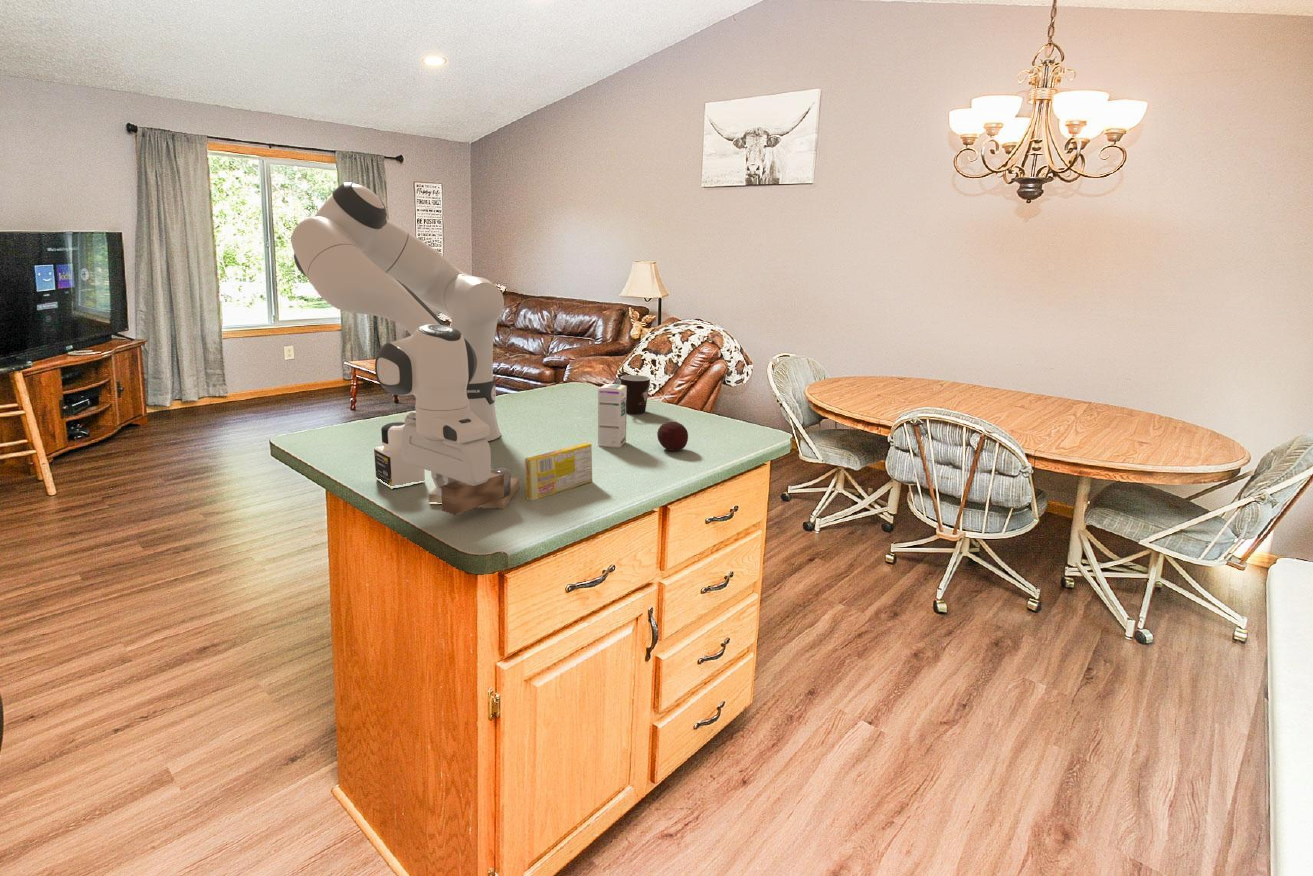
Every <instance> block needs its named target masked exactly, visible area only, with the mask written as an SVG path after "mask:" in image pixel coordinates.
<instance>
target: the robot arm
mask: <svg viewBox="0 0 1313 876" xmlns="http://www.w3.org/2000/svg"><path fill="white" fill-rule="evenodd" d="M387 215H388V213H387V209H386V206H385V204H384V202H383V201H382V200H381V198H380V197H379V196H378V195H377V194H375V192H374V191H373V190H371V189H369V188H368V187H367V186H365V185H362V184H360V183H357V182H353V181H352V182H347V181H346V182H343V183H342V184H340V185H339V186H338V187H336V188H335V189H334V190H333V192H332V195H331V196H330V197H329V198H328V199H327V200H326V202H324V204H323V205H321V207H320V208H319V210H318V211H317V212H316V214H315V215H314V216H311V217H308V218H306V219H304V220H302V221H300V222H299V223H298V224H297V225H296V226H295V227H294V229H293V231H292V233H291V237H290V238H291V241H290V242H291V247H292V250H293V258H294V259H293V260H294V263H295V266H296V269H298V271H299V272H300V273H301V274H302V275H303V276H304V277H306V278H307V279H308V281H309V283H310V284H311V285H312V286H313V288H314V289H315V291H316V292H317V294H318V295H319V296H320V297H321V298H322V299H323V300H325V302H327V303H328V304H329V305H330V306H332V307H333V308H336V309H338V310H340V311H342V312H347V313H353V314H362V315H367V316H368V315H369V316H375V317H381V318H383V319H388V320H390V321H393V322H395V323H397V324H399V326H402V328H404V329H405V331H406V332H408V334H410V335H409V336H406V337H405V338H401V339H398V340H394V341H390V342H387V343H385V344H383V345H382V346H381V348H380V349H379V350H378V352H377V355H376V358H375V362H374V370H375V377H376V381H378V383H379V385H380V386H381V387H382V388H383V389H384V390H385V391H386V392H387V393H389V394H390V395H393V396H410V395H411V396H412V395H413V396H414V397H415V412H410V413H408V414H407V415H406V416H405V418H404V423H405V426H404V427H403V430H402V438H401V456H402V458H403V461H404V462H406V463H409V464H412V465H414V466H417V467H420V468H423V469H424V470H426V471H429V472H430V473H431V475H430V476H431V479H432V481H433V483H434V485H435V488H436V489H437V495H438V496H440V497H442V493H441V486H444V485H447V484H450V483H453V482H456V481H460V482H463V483H466V484H468V485H471V486H476V485H479V484H482V483H485V482H487V481H488V479H489V478H490V475H491V470H492V458H491V457H492V456H491V455H492V454H491V446H490V444H489V442H490V441H493V440H494V441H495V440H496V439H498V438H500V437H501V436H502V434H501V433H502V432H501V431H500V427H499V424H498V418H497V414H496V406H495V402H496V397H497V394H496V393H497V392H496V391H497V390H496V380H495V379H494V370H493V369H494V364H493V363H494V361H493V359H494V356H493V355H494V353H493V351H494V341H495V335H496V331H497V326H498V320H499V319H500V317H501V315H502V314H503V312H504V308H505V298H504V295H503V293H502V291H501V290H500V289H499V287H498V286H497V285H495V284H494V283H493V282H491V281H490V280H489V279H487V278H484V277H482V276H481V277H480V276H474V275H471V274H469V273H466V272H464V271H462V270H461V269H459V268H458V267H456V266H455V265H454V264H453V263H451V262H450V261H449V260H448V259H447V258H446V257H444V255H442V254H441V253H440V252H439V251H438V250H437V249H435V248H433V247H432V246H430V245H429V244H427V243H426V242H424V241H423V240H422V239H420V238H419V237H417V236H415V235H414V234H412V233H411V232H410V231H408V230H406V229H405V228H403V227H401V226H400V225H398V224H397V223H395V222H393V221H391V220H390V219H387V217H388V216H387ZM424 302H425V303H424ZM428 305H429V306H431V307H432V308H434V309H435V310H436V311H438V312H440V313H442V314H443V315H444V316H446V317H447V318H450V319H451V322H450V323H451V325H450V326H448V325H447V324H445V322H443V320H442V319H441V318H440V317H438V315H436V313H435V312H434V311H433V310H432V309H430V307H428Z"/></svg>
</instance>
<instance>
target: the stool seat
mask: <svg viewBox="0 0 1313 876" xmlns="http://www.w3.org/2000/svg"><path fill="white" fill-rule="evenodd" d="M520 481H521V479H520V477H511V494H510V495H509V496H506V497H502V498H500V499H497V500H494V501H492V502H489V503H486V504H483V505H481V506H478V507H477V508H480V507H482V508H483V509H495V508H499V510H504V509H505V508H506V506H507V505H508V504H509V503H508V502H510V501H511V500H512V499H511V498H513V497H514V496H515V495H516V493H517V492H518V491H519V489H520V487H521V482H520ZM429 502H437V503H442V497H440V496H438V495H437V489H436V487H435V488H434V489H432V491H431V492H429V493H428V503H429ZM482 508H481V509H482Z"/></svg>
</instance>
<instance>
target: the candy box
mask: <svg viewBox="0 0 1313 876" xmlns="http://www.w3.org/2000/svg"><path fill="white" fill-rule="evenodd" d="M592 450H593V449H592V443H590V442H589V443H588V442H584V443H580V444H577V445H571V446H568V447H565V448H562V449H556V450H553V451H550V452H545V453H541V454H537V455H534V456H530V457H526V458H524V465H525V467H524V469H525V470H524V471H525V472H524V473H525V499H527V498H528V499H527V500H529V499H530V501H533V500H534V499H535V500H538V499H541V498H544V497H547V495H548V496H551V495H553V494H557V493H560V492H564V491H566V490H570V489H574V488H577V487H579V486H584V485H585V484H589V483H593V454H592ZM537 498H538V499H537Z"/></svg>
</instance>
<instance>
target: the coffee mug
mask: <svg viewBox="0 0 1313 876" xmlns="http://www.w3.org/2000/svg"><path fill="white" fill-rule="evenodd" d="M650 384H651V377H649V376H647V375H639V374H636V375H635V374H629V375H628V374H627V375H622V376H620V385H626V386H627V394H626V414H627V413H628V415H644V414H645V413H646V410H647V403H648V402H647V401H648V396H649V389H650Z"/></svg>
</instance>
